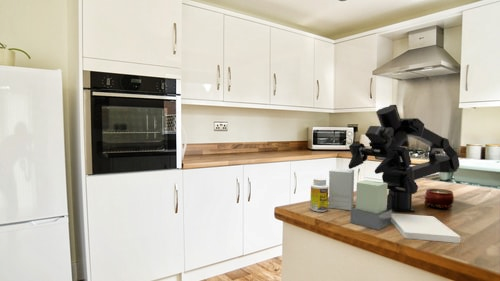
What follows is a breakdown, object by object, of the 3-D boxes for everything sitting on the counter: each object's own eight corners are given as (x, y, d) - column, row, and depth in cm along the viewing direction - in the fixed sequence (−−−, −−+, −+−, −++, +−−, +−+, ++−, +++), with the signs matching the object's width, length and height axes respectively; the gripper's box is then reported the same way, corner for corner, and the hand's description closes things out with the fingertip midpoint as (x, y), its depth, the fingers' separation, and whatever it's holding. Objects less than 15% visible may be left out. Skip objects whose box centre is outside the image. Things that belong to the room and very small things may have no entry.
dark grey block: (363, 216, 87) (364, 197, 87) (391, 223, 81) (391, 202, 81) (350, 222, 82) (351, 201, 82) (378, 230, 76) (379, 207, 76)
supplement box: (353, 205, 100) (355, 169, 99) (351, 211, 93) (352, 172, 93) (332, 202, 103) (333, 167, 103) (328, 207, 97) (328, 170, 96)
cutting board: (388, 218, 86) (388, 213, 86) (432, 221, 84) (433, 216, 84) (404, 238, 71) (405, 232, 71) (460, 243, 68) (460, 236, 68)
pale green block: (365, 205, 86) (366, 179, 85) (386, 209, 81) (387, 183, 81) (355, 208, 82) (356, 182, 81) (377, 213, 77) (378, 185, 77)
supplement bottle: (319, 213, 90) (320, 180, 90) (306, 209, 95) (307, 178, 94) (331, 210, 93) (332, 179, 93) (318, 206, 98) (319, 176, 97)
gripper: (358, 119, 97) (329, 144, 91) (414, 120, 81) (382, 149, 75) (368, 147, 101) (340, 173, 95) (423, 153, 85) (394, 184, 79)
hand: (361, 169), depth 86 cm, fingers open, 9 cm apart
